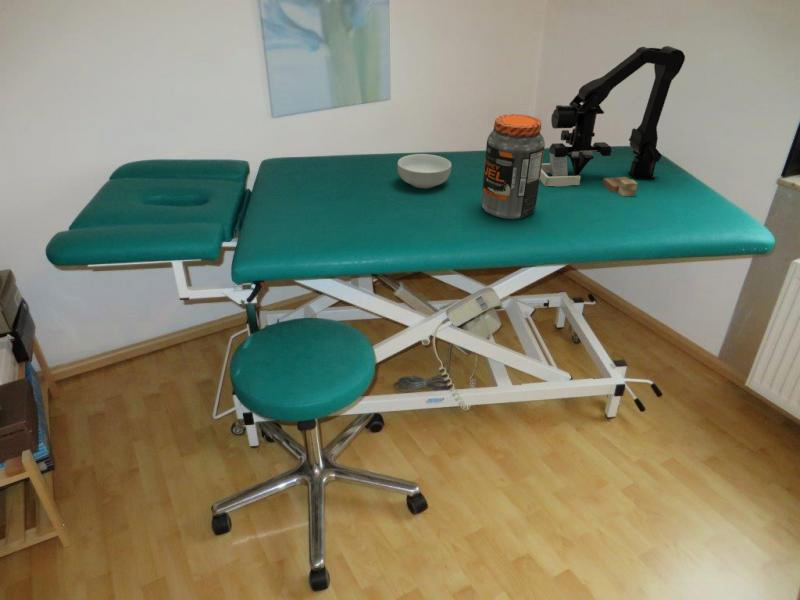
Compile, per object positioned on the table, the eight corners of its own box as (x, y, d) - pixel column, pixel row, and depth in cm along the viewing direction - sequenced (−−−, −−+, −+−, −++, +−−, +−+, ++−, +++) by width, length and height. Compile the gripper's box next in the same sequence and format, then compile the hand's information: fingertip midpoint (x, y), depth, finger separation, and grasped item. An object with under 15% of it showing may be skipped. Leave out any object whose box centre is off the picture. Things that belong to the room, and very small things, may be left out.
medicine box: (568, 179, 192) (566, 152, 188) (553, 181, 193) (552, 154, 189) (564, 172, 199) (563, 146, 195) (550, 174, 200) (549, 148, 196)
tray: (564, 171, 202) (566, 162, 200) (579, 185, 191) (580, 176, 190) (533, 172, 200) (534, 163, 199) (545, 186, 190) (547, 177, 188)
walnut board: (625, 184, 194) (626, 177, 193) (635, 192, 188) (637, 185, 187) (601, 185, 193) (603, 178, 192) (611, 193, 187) (613, 186, 186)
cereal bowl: (421, 198, 181) (422, 176, 177) (386, 182, 191) (386, 161, 188) (461, 185, 190) (462, 163, 187) (425, 170, 201) (426, 150, 197)
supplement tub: (470, 203, 178) (477, 115, 164) (516, 195, 184) (526, 109, 170) (498, 224, 166) (508, 131, 152) (546, 215, 171) (560, 124, 158)
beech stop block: (630, 192, 187) (633, 179, 185) (634, 195, 185) (637, 183, 182) (618, 192, 187) (620, 180, 185) (622, 196, 184) (625, 183, 182)
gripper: (602, 119, 195) (593, 166, 204) (547, 120, 193) (540, 167, 202) (617, 129, 186) (607, 177, 194) (559, 131, 184) (551, 179, 192)
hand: (575, 175), depth 196 cm, fingers closed
